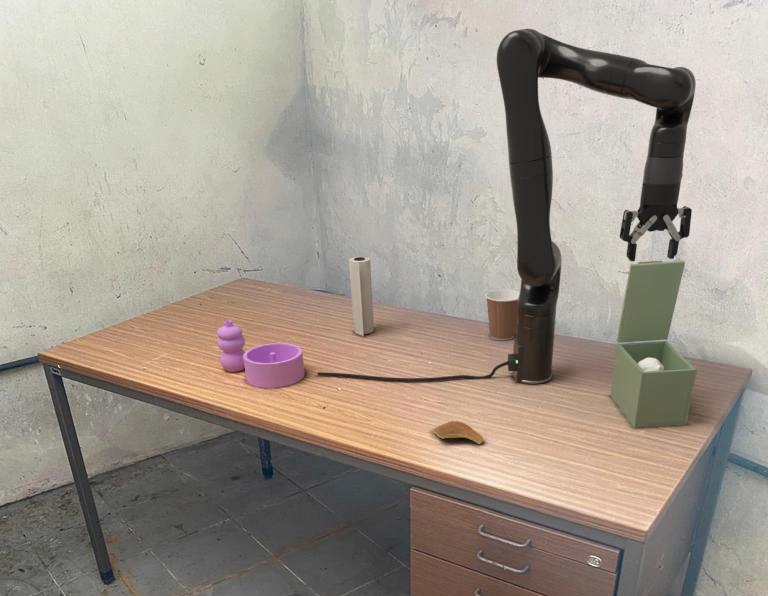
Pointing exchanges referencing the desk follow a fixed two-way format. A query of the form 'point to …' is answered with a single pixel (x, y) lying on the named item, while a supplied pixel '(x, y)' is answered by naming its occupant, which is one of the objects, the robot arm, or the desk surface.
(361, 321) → the beige tall hexagonal prism
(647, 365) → the white lumpy piece
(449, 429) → the pottery shard
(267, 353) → the container set
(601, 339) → the desk surface
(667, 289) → the lid
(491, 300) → the coffee cup
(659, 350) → the chest
